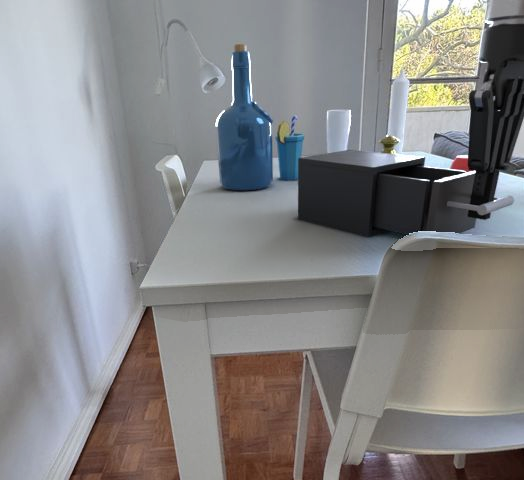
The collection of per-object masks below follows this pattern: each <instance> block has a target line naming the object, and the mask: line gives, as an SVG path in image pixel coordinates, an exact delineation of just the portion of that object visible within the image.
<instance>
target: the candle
mask: <svg viewBox="0 0 524 480" xmlns="http://www.w3.org/2000/svg"><path fill="white" fill-rule="evenodd" d="M410 83H411V81H410V80H409V79H408V78H407V77H406V75H405V69H404V67H403V66H402V67H401V68H400V72H399V74H398V76H397V77H396V78H395V79H394V80H393V81H392V84H391V95H390V104H389V105H390V107H389V118H388V129H387V136H388V135H391V136H393V137H394V138H397V139H398V140H399V143H398V144H397V145H396V146H395V147H394V152H395V153H396V154H398V155H403V147H404V137H405V129H406V121H407V120H406V119H407V111H408V101H409V91H410Z"/></svg>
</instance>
